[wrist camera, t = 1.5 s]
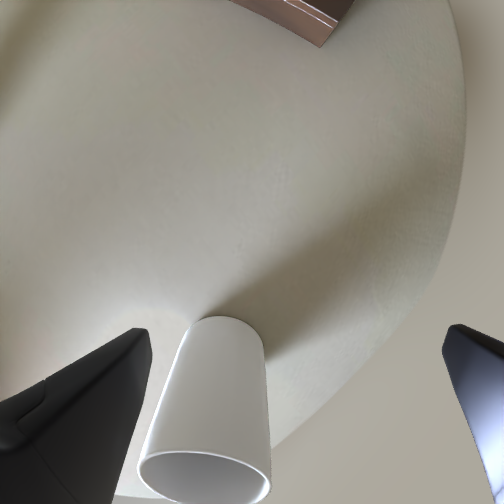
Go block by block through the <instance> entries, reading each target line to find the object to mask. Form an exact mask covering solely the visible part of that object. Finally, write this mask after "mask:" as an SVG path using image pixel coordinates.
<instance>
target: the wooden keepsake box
mask: <svg viewBox="0 0 504 504" xmlns="http://www.w3.org/2000/svg"><path fill="white" fill-rule="evenodd" d="M229 1H232V2H234V3H236V4H238V5H241V6H243V7H245V8H247V9H249V10H251V11H253V12H256V13H258V14H260V15H262V16H264V17H266V18H268V19H270V20H271V21H273V22H275V23H277V24H279V25H281V26H283V27H285V28H286V29H288V30H290V31H292V32H294V33H295V34H297V35H299V36H301V37H302V38H304V39H306V40H308V41H309V42H311V43H313V44H314V45H316V46H317V47H319V48H320V47H321V46H322V45H323V43H324V42H325V41H326V39H327V38H328V37H329V35H330V34H331V33H332V31H333V30H334V29H335V27H336V26H337V25H338V23H339V22H340V21H341V19H342V18H343V17H344V15H345V14H346V12H347V11H348V10H349V8H350V7H351V6H352V4H353V3H354V2H355V0H229Z"/></svg>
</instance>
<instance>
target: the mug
mask: <svg viewBox="0 0 504 504" xmlns="http://www.w3.org/2000/svg"><path fill="white" fill-rule="evenodd" d="M137 471H138V474H139V477H140V478H141V480H142V481H143V482H144V483H145V484H146V485H147V486H148V487H149V488H150V489H151V490H153V491H154V492H156V493H157V494H159V495H161V496H162V497H164V498H166V499H169V500H171V501H174V502H176V503H180V504H256V503H257V502H260V501H261V500H263V499H264V498H266V497H267V496H268V494H269V493H270V492H271V489H272V481H271V447H270V432H269V416H268V401H267V385H266V369H265V359H264V348H263V343H262V341H261V339H260V337H259V335H258V334H257V332H256V331H255V330H254V329H253V328H252V327H251V326H249V325H248V324H246V323H245V322H243V321H241V320H238V319H235V318H232V317H226V316H213V317H208V318H204V319H202V320H200V321H198V322H196V323H195V324H193V325H192V326H191V327H190V328H189V329H188V330H187V332H186V333H185V335H184V337H183V340H182V342H181V345H180V347H179V349H178V352H177V355H176V357H175V360H174V363H173V365H172V368H171V371H170V374H169V376H168V379H167V382H166V385H165V387H164V390H163V393H162V395H161V398H160V401H159V404H158V406H157V409H156V412H155V415H154V418H153V420H152V423H151V426H150V429H149V432H148V434H147V437H146V440H145V443H144V446H143V449H142V453H141V456H140V460H139V463H138V466H137Z"/></svg>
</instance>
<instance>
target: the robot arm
mask: <svg viewBox="0 0 504 504" xmlns="http://www.w3.org/2000/svg"><path fill="white" fill-rule="evenodd" d="M442 355H443V358H444V361H445V364H446V366H447V369H448V372H449V375H450V378H451V381H452V385H453V388H454V390H455V393H456V395H457V398H458V400H459V403H460V405H461V408H462V410H463V412H464V415H465V417H466V420H467V422H468V425H469V427H470V430H471V433H472V435H473V438H474V441H475V443H476V446H477V449H478V452H479V454H480V457H481V460H482V463H483V466H484V469H485V472H486V475H487V478H488V481H489V485H490V488H491V491H492V495H493V497H494V502H495V504H504V343H503V342H501V341H499V340H497V339H494V338H492V337H490V336H488V335H485V334H483V333H481V332H479V331H476V330H474V329H471V328H470V327H467V326H465V325H463V324H456V325H451V326H450V327H449V329H448V332H447V335H446V338H445V340H444V343H443V346H442ZM151 363H152V348H151V343H150V337H149V333H148V330H147V329H143V328H132V329H130V330H129V331H127V332H125V333H123V334H122V335H120V336H118V337H117V338H115V339H113V340H111V341H110V342H108V343H106V344H105V345H103V346H101V347H99V348H98V349H96V350H94V351H92V352H91V353H89V354H87V355H85V356H84V357H82V358H80V359H79V360H77V361H75V362H73V363H72V364H70V365H68V366H66V367H65V368H63V369H61V370H59V371H58V372H56V373H54V374H52V375H51V376H49V377H47V378H46V379H45V380H42V381H40V382H38V383H37V384H35V385H33V386H31V387H30V388H28V389H26V390H24V391H22V392H20V393H18V394H16V395H14V396H12V397H10V398H8V399H6V400H4V401H2V402H0V504H111V503H112V500H113V497H114V493H115V490H116V486H117V483H118V480H119V476H120V473H121V470H122V467H123V463H124V460H125V457H126V454H127V451H128V448H129V444H130V441H131V438H132V435H133V432H134V429H135V426H136V423H137V420H138V417H139V414H140V411H141V408H142V405H143V401H144V396H145V391H146V386H147V382H148V377H149V372H150V368H151Z"/></svg>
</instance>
